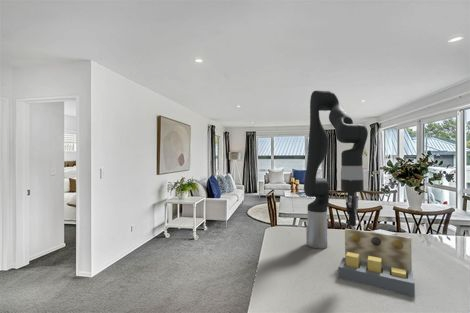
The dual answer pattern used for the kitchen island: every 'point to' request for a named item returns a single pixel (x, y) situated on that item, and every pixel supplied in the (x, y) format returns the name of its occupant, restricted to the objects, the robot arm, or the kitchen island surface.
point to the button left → (352, 259)
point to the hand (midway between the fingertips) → (352, 225)
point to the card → (380, 248)
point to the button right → (398, 272)
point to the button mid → (374, 264)
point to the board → (378, 278)
